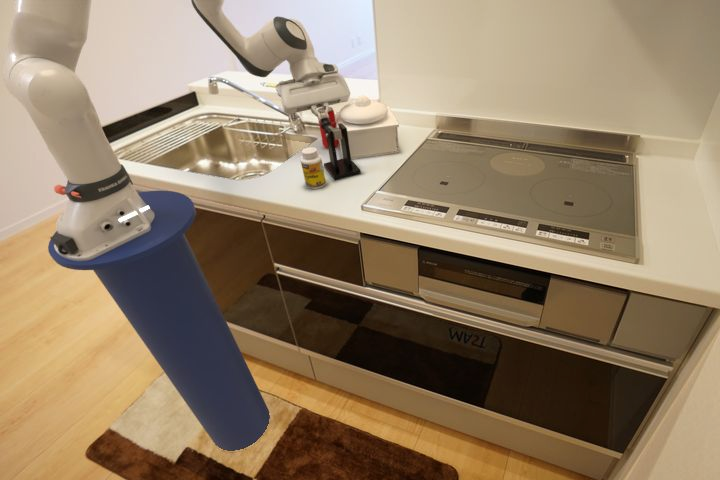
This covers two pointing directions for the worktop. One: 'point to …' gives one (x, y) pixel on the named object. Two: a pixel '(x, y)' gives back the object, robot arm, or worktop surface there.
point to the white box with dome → (368, 128)
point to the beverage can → (333, 123)
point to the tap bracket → (341, 166)
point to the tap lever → (336, 131)
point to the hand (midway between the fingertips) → (324, 119)
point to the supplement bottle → (312, 168)
